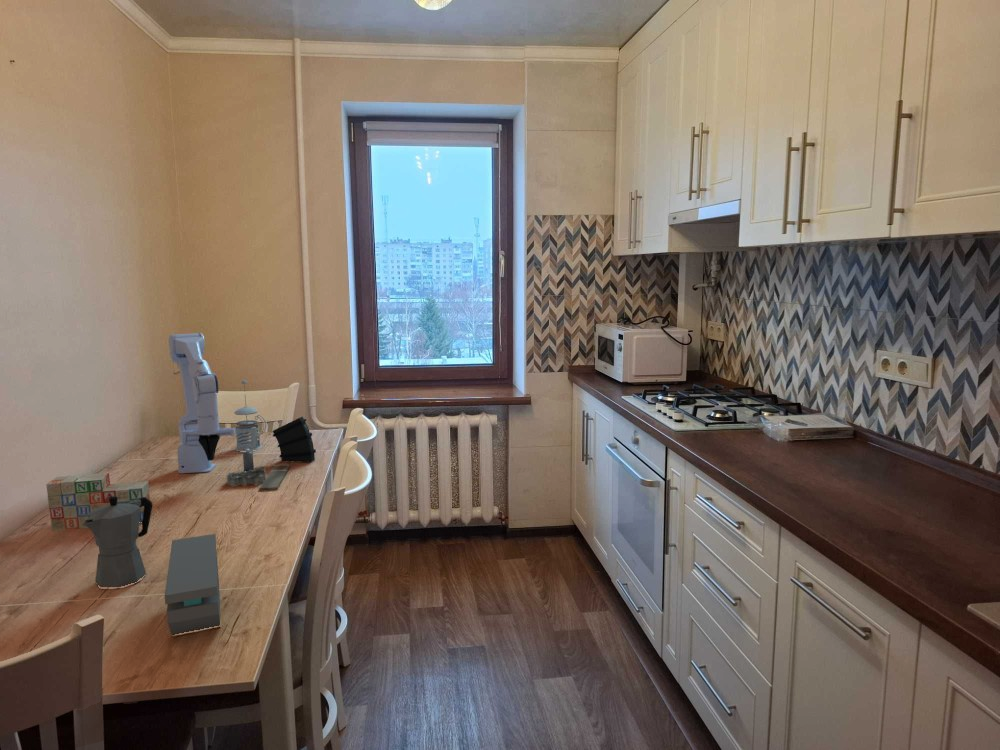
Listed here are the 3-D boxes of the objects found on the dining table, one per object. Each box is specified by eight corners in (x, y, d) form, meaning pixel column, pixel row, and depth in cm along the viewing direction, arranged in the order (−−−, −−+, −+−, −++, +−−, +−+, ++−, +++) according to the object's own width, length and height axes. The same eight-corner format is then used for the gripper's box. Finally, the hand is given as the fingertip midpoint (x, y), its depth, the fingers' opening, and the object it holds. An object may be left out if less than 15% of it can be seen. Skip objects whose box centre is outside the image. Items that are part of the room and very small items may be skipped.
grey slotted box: (176, 592, 134) (172, 540, 132) (219, 584, 137) (215, 533, 135) (170, 657, 111) (164, 595, 109) (221, 646, 114) (216, 586, 112)
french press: (243, 444, 248) (238, 377, 244) (272, 445, 246) (268, 378, 242) (228, 451, 238) (223, 382, 234) (259, 452, 237) (255, 382, 233)
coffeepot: (109, 598, 131) (99, 510, 128) (75, 590, 135) (65, 504, 132) (173, 566, 145) (166, 486, 143) (141, 559, 149) (133, 481, 146)
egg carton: (267, 478, 208) (266, 465, 207) (262, 486, 200) (261, 473, 200) (231, 480, 206) (230, 467, 206) (225, 487, 199) (224, 474, 198)
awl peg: (243, 472, 214) (241, 450, 213) (245, 469, 217) (243, 448, 216) (252, 471, 214) (251, 450, 213) (254, 468, 217) (253, 447, 216)
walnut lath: (259, 490, 195) (259, 487, 195) (274, 467, 219) (274, 464, 218) (277, 489, 196) (277, 486, 196) (290, 466, 219) (290, 463, 219)
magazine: (320, 458, 223) (299, 417, 222) (287, 473, 225) (266, 434, 224) (324, 455, 227) (304, 415, 225) (291, 470, 229) (271, 431, 228)
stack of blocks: (152, 514, 177) (147, 469, 175) (145, 523, 171) (141, 476, 169) (61, 522, 172) (56, 475, 170) (51, 531, 166) (45, 483, 164)
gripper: (177, 419, 194) (181, 464, 197) (230, 417, 197) (233, 462, 199) (185, 414, 201) (188, 458, 203) (235, 412, 203) (238, 455, 206)
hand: (211, 459), depth 202 cm, fingers closed
